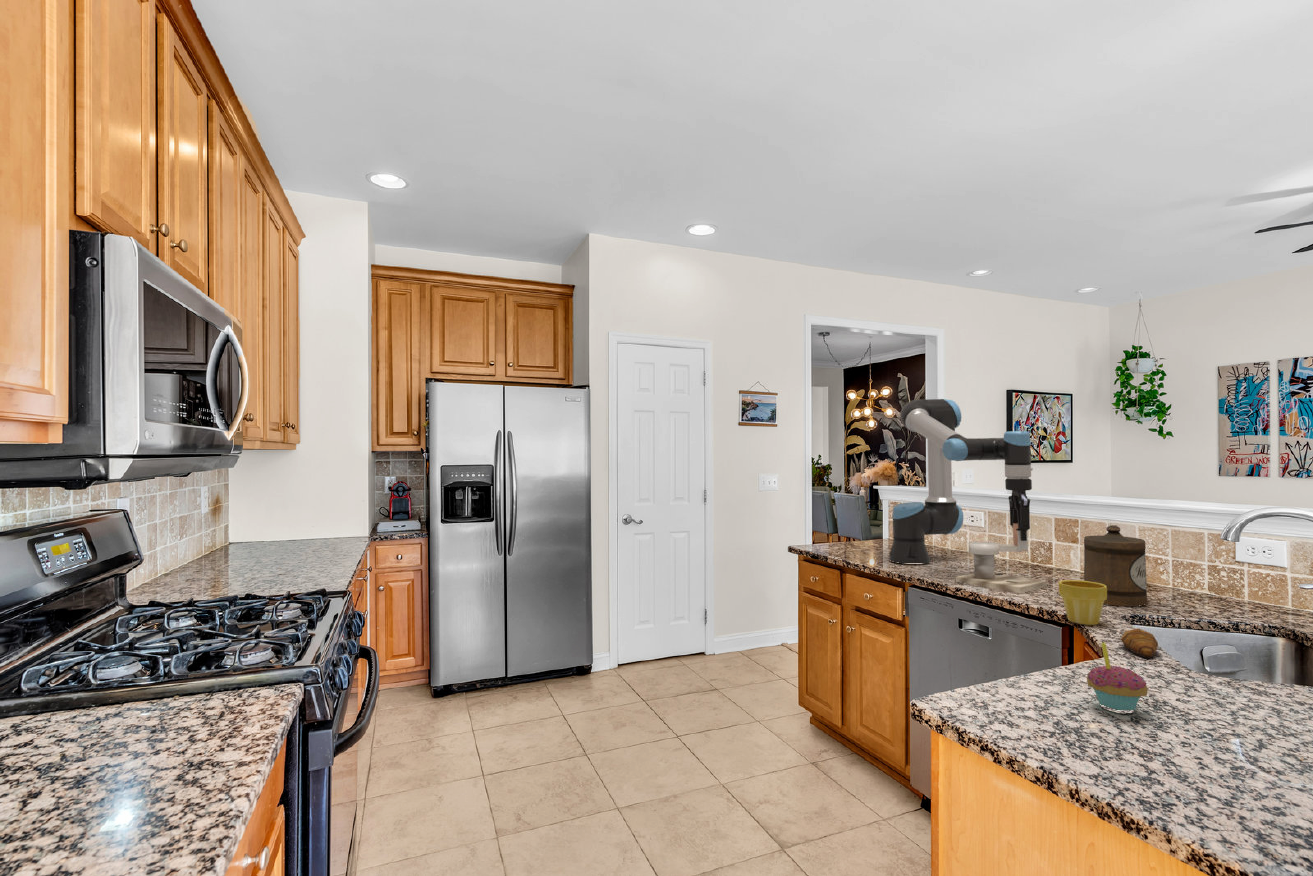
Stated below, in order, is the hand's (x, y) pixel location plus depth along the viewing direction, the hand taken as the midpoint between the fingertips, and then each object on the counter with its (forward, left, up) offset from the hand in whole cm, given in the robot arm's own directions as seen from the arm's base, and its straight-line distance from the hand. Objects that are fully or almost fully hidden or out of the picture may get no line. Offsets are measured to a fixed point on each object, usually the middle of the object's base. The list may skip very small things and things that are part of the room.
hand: (1020, 549), depth 208 cm
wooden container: (+27, 0, -12) cm, 29 cm away
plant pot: (+32, -31, -12) cm, 46 cm away
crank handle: (-5, -4, -1) cm, 7 cm away
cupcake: (+61, -86, -12) cm, 106 cm away
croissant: (+50, -47, -12) cm, 69 cm away
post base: (-4, -5, -12) cm, 13 cm away
